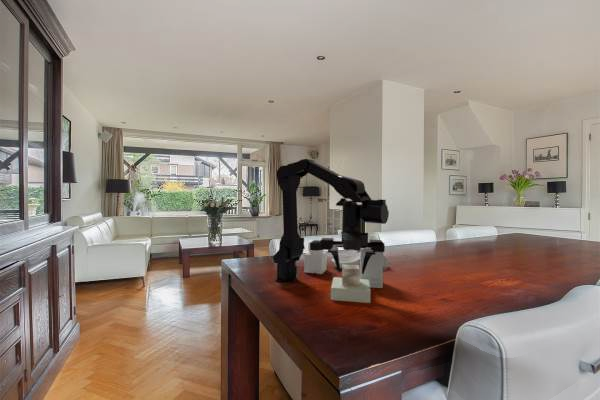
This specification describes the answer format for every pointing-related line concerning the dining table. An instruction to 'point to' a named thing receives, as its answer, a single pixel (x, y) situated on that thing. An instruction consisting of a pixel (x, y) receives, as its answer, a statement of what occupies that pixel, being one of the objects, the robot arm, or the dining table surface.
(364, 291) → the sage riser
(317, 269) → the medicine bottle
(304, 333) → the dining table surface
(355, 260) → the spoon rest
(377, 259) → the supplement box
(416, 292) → the dining table surface
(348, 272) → the cream block
